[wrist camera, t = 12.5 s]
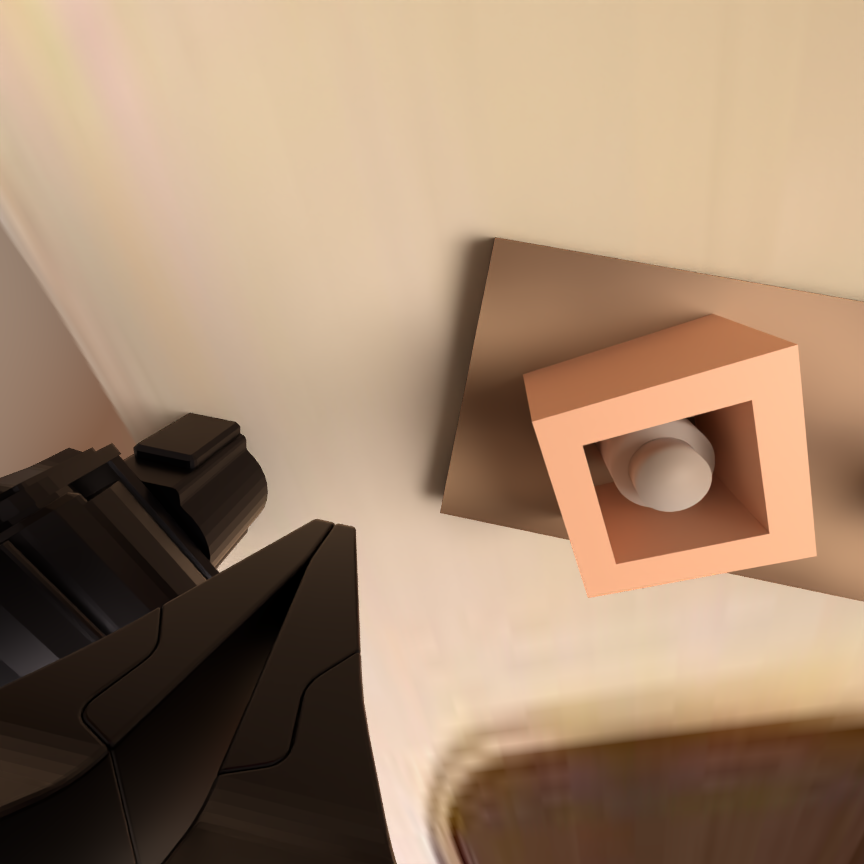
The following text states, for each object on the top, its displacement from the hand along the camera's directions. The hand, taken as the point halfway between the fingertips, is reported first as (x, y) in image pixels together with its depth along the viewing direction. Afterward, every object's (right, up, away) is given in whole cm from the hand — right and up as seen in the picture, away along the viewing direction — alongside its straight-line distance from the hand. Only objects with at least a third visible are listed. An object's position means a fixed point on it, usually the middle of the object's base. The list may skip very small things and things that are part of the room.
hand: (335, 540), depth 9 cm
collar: (+10, +2, +9) cm, 14 cm away
